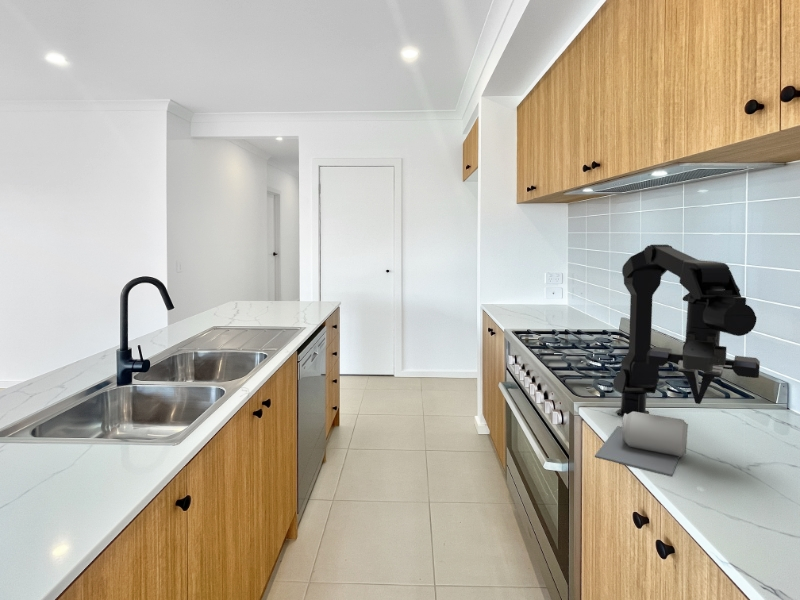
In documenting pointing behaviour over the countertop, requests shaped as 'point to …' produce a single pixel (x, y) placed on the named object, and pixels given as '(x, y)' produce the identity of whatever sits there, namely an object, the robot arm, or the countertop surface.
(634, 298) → the robot arm
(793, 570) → the countertop surface
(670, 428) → the can
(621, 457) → the mat
